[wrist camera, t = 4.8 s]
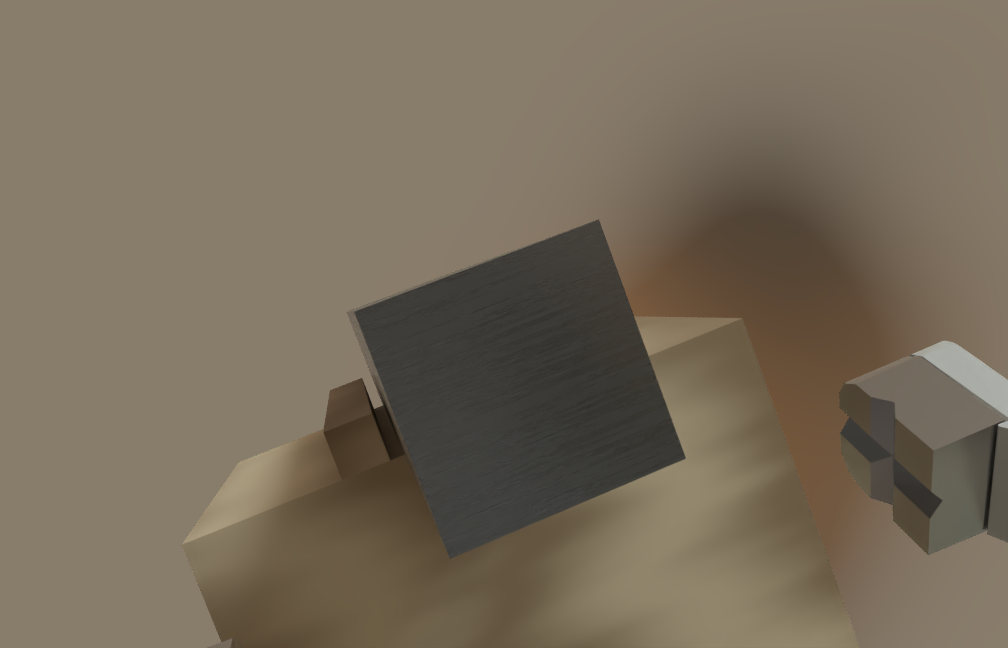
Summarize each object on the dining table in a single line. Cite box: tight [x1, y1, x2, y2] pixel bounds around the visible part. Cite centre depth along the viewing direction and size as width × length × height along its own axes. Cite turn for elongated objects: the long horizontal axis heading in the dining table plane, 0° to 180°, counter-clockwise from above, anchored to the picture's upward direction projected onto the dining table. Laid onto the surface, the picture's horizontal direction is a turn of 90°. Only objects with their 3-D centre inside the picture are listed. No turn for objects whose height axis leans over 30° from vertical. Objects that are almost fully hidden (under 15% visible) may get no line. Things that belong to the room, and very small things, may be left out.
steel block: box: [347, 220, 686, 559], centre depth 21 cm, size 3×21×3 cm, turn 11°
